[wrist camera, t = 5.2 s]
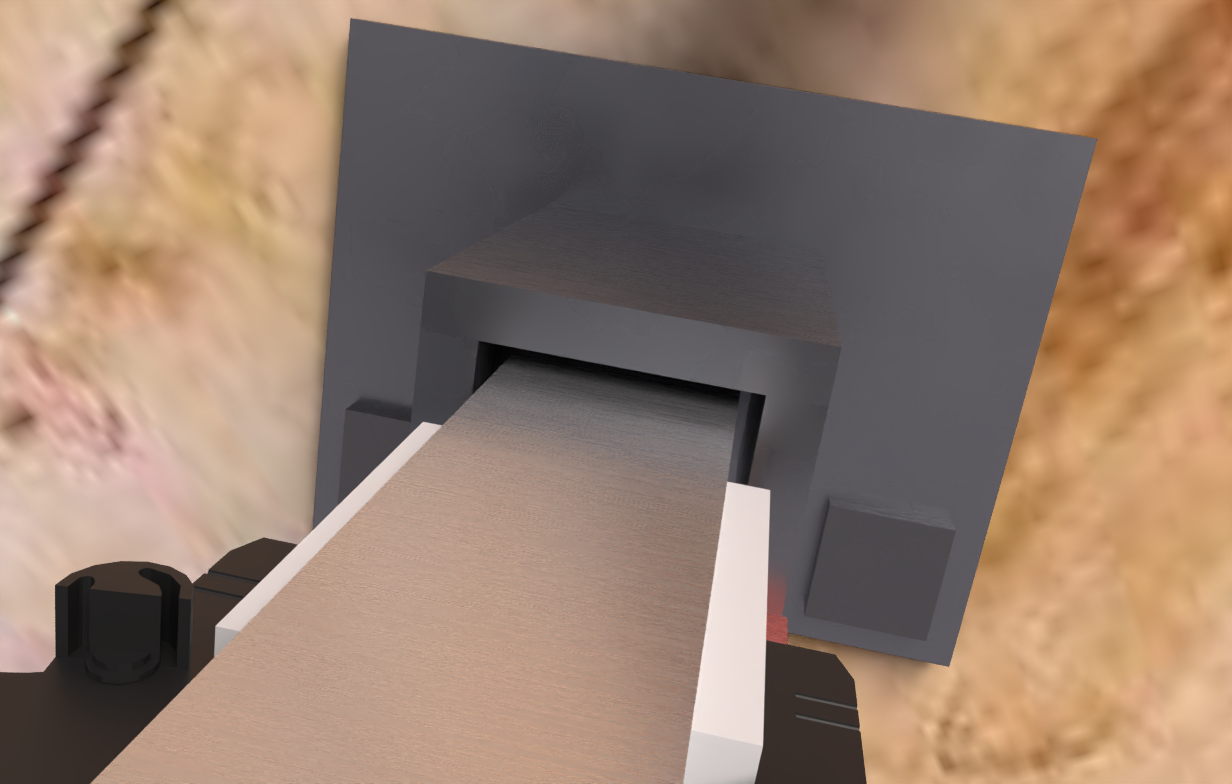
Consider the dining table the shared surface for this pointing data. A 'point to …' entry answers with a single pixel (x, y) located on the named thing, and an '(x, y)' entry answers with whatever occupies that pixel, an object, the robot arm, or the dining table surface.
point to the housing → (709, 291)
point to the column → (486, 604)
